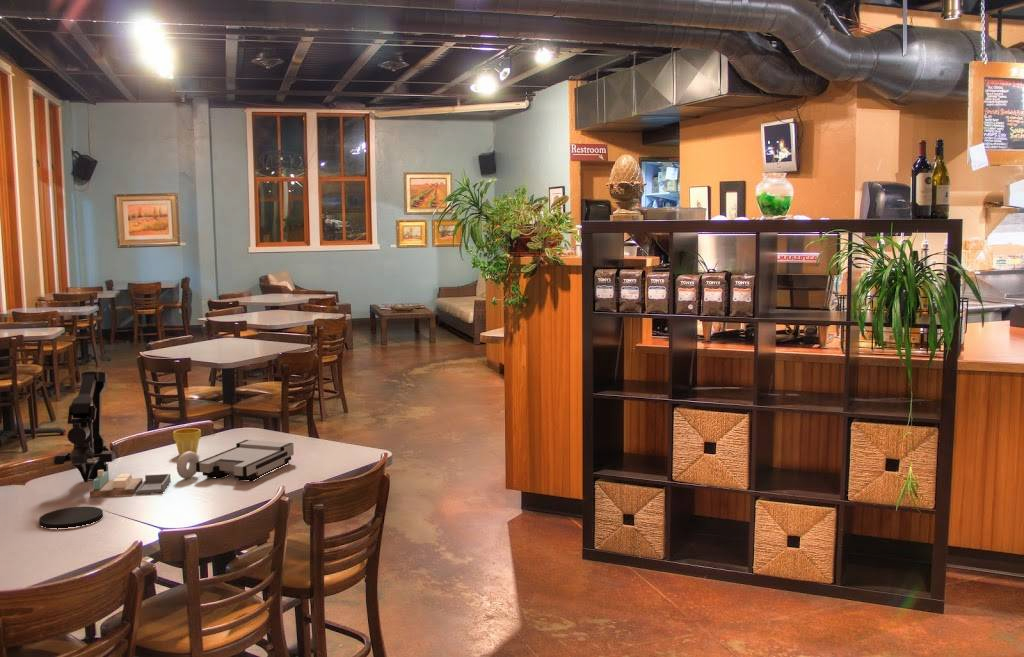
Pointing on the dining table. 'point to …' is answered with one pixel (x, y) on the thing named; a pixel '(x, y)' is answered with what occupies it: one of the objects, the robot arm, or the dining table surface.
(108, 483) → the walnut board
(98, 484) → the long mint beam
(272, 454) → the game console
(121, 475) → the tile
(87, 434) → the robot arm
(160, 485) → the box
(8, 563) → the dining table surface
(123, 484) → the tile
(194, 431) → the plant pot
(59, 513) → the wireless charger
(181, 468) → the donut
